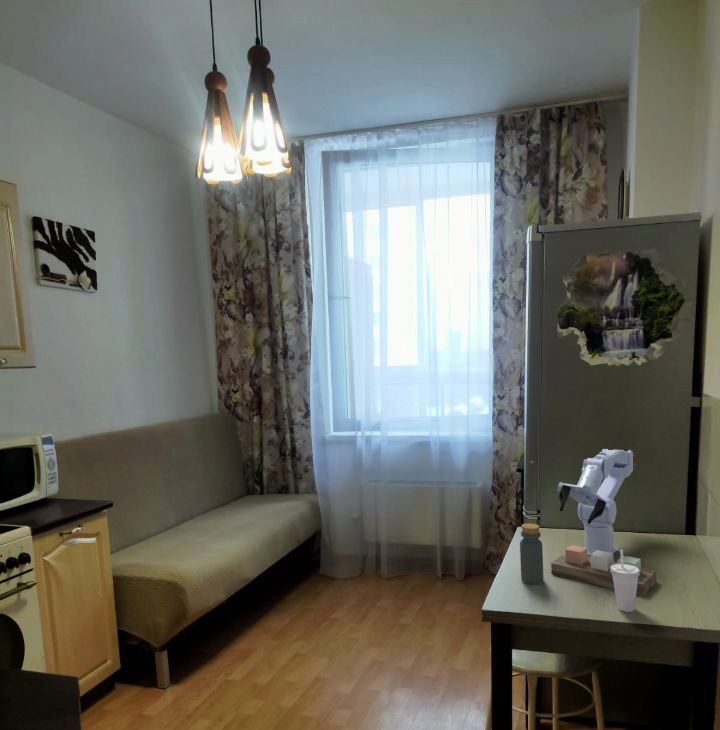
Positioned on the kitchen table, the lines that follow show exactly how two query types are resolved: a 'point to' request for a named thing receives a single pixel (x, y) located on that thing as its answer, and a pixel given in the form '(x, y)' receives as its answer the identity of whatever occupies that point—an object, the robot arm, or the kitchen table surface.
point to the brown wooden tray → (600, 574)
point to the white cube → (602, 560)
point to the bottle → (531, 554)
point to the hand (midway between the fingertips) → (575, 514)
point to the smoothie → (625, 585)
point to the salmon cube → (576, 555)
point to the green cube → (631, 562)
